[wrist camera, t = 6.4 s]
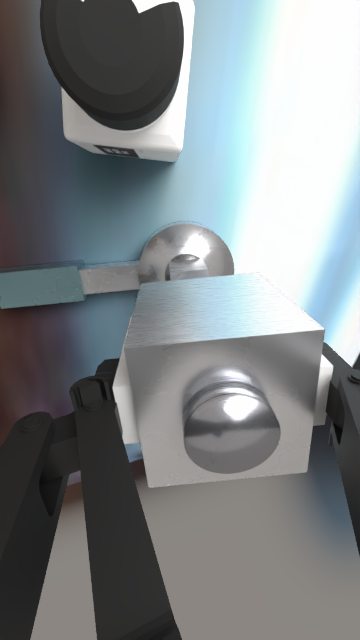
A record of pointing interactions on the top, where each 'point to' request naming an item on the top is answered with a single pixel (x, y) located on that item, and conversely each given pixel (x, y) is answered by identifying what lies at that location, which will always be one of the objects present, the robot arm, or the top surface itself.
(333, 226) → the top surface
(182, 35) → the container
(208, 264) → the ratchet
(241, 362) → the cube with chrome knob
